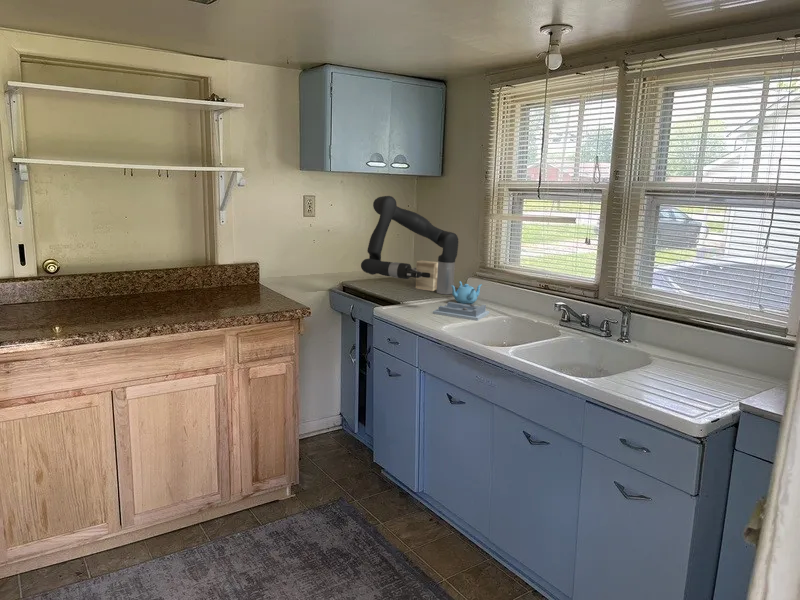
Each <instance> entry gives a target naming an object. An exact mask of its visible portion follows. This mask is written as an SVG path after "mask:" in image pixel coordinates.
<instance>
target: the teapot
mask: <svg viewBox="0 0 800 600" xmlns="http://www.w3.org/2000/svg"><path fill="white" fill-rule="evenodd" d="M482 285H483V284H482V283H481V284H478V286H477V287H476V288H474V287H473V286H471V285H470V284H468V283H464V285H463V282H462V281H461V280H460V281H459V287H458V288H457V290H456V287H455V285H454V286H453V285H451V286H452V294H451V295H452V297H453V298H454V300H455V301H456V303H460V304H468V305H470V304H474V303H476V301H477V300H478V297H479V296H480V294H481V293H480V290H481V286H482ZM475 289H476V290H475Z"/></svg>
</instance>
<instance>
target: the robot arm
mask: <svg viewBox="0 0 800 600" xmlns="http://www.w3.org/2000/svg"><path fill="white" fill-rule="evenodd" d="M372 207H373V210H374V211H375V213H377V214H378V215H379V219H378V222H377V224H376V226H375V228H374V230H373V232H372V234H371V235H370V238H369V242H368V247H367V253H368V254H369V255H368V256H369V258H365V259H364V260H362V261H361V264H360V267H361V270H362V271H363V272H364V273H366V274H370V275H380V276H383V277H391V278H395V279H403V280H409V279H410V278H415V279H416V278H419V277H427V278H430V273H426V272H423V273H422V272H420V271H418V270H416V267H412V265H411V264H410V263H407V262H398V261H397V262H396V261H395V262H393V261H384V260H383V261H382V251H383V247H384V243H385V239H386V235H387V232H388V229H389V227H390V225H391V222H392V221H394V222H395V223H398V225H401V226H403V227H405V228H406V229H407V230H410V232H413V233H415V234H417V235H419V236H421V237H424V238H426V239H428V240H430V241H431V242H433V243H434V244H435V245H436V246H438V247H440V248H442V252H441V254H440V255H438V257H437V262H438V274H437V289H436V290H435V291H436V294H441V295H453V294H452V286H451V285H453V286H454V287H455V285H454V283H455V271H456V270H455V268H456V259H457V257H458V250H459V237H458V234H456V233H454V232H452V231H448V230H443V229H440V228H439V227H437V226H435V225H433V224H432V223H431V222H430V220H429V219H427V218H426V217H424V216H423V215H420V214H419V213H417V212H414V211H413V210H412V211H411V210H409V209H405V208H402V207H399V206H397V199H395V198H394V197H393V196H391V195H383V196H378V197H377V198H375V199H374V201H373V204H372Z"/></svg>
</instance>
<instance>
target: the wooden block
mask: <svg viewBox="0 0 800 600" xmlns="http://www.w3.org/2000/svg"><path fill="white" fill-rule="evenodd" d="M415 268H416V270H418V271H420V272H422V273H423V272H426V273H430V278H427V277H419V278H416V277H415V289H418V290H424V291H429V292H430V291H431V292H434V291H436V289H437V274H438V261H431V260H430V261H429V260H417V261H416V266H415Z"/></svg>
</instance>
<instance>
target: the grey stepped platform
mask: <svg viewBox="0 0 800 600" xmlns="http://www.w3.org/2000/svg"><path fill="white" fill-rule="evenodd" d="M486 308H487V307H486V304H482V305H475V304H474V303H473V304H468V303H465V304H461V303H457V302H454V301H453V302H452V301H448V302H447V303H446V304H445V305H439V306H438V308H436V309H434V310H433V311H432V314H434V315H439V316H440V315H441V316H445V315H446V316H447V317H452V318H459V319H464V320H471V321H477V322H478V321H479V320H481V319H483V318H485V317H486V316H489V314H490V311H489V310H486Z"/></svg>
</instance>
